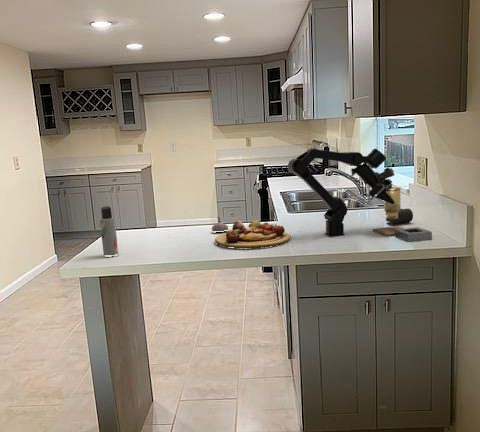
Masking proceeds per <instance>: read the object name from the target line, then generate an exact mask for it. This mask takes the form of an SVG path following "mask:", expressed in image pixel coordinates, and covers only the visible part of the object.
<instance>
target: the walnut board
mask: <svg viewBox="0 0 480 432" xmlns="http://www.w3.org/2000/svg"><path fill="white" fill-rule="evenodd" d="M397 229H406V228H404V227H402V226H398V225H395V226H390V227H389V226H387V227H379V228H372V232H374V233H376V234H379V235H381V236H383V237H385V238H386V237H395V230H397Z"/></svg>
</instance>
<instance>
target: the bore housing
mask: <svg viewBox="0 0 480 432" xmlns="http://www.w3.org/2000/svg"><path fill="white" fill-rule="evenodd" d="M394 237H395V238H398V240H399V239H400V240H402V241H403V242H407V243H413V242H419V241H420V242H421V241H430V240H433V232H432V231H430V230H428V229H425V228H421V227H418V226H415V227H409V228H408V227H407V228H405V229H397V230H395V236H394Z"/></svg>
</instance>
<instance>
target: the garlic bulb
mask: <svg viewBox="0 0 480 432" xmlns="http://www.w3.org/2000/svg"><path fill="white" fill-rule="evenodd" d="M224 230H229V227H228V225H227V224H226V223H223V222H222V220H221V218H220V215H218V216H217V223H215V224H213V225H212V226H211V231H212V232H213V231H224Z"/></svg>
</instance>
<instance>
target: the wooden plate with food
mask: <svg viewBox="0 0 480 432" xmlns="http://www.w3.org/2000/svg"><path fill="white" fill-rule="evenodd" d="M231 227H232V228H231V229H228V231H227V232H223V233H222V234H220V235H217V236H216V237H215V239H214V241H215V242H216V243H217V244H218V245H217V244H216V243H215V244H216V245H217V246H219V245H221V246H225V247H234V248H261V247H270V246H276V245H280V244H283V245H285V244H284V243H286V242H288V241H289V240H290V239H292V237H291V235H290V234H289V233H288V232H285V231H286V229H285V227H284V226H283V225H277V224H276V223H274V224H273V223H271V224H269V222H265V221H264V222H263V223H261V222H260V221H258V220H257V219H254V220H253V221H251V222H250V223H249V225H248V227H245V225H244V223H243V222H242V221H241V220H239V219H237V220H236V221H235V222H234V223H233V225H232V226H231ZM290 241H291V240H290ZM290 241H289V242H290ZM289 242H288V243H289ZM286 244H287V243H286ZM221 246H220V247H221ZM280 246H281V245H280ZM225 247H224V248H225ZM276 247H277V246H276Z"/></svg>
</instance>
